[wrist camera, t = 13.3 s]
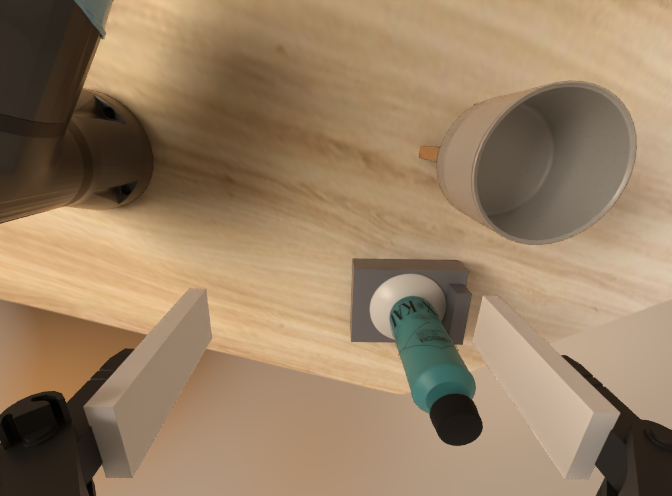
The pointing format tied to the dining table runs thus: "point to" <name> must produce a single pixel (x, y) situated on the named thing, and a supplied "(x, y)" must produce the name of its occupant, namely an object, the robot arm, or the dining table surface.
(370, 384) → the dining table surface
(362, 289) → the domed button base
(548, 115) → the planter
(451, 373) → the beverage bottle
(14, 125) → the robot arm
